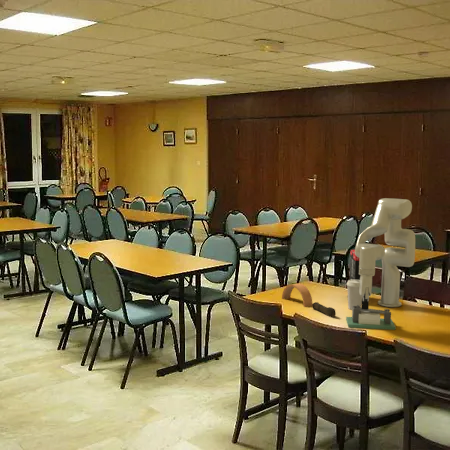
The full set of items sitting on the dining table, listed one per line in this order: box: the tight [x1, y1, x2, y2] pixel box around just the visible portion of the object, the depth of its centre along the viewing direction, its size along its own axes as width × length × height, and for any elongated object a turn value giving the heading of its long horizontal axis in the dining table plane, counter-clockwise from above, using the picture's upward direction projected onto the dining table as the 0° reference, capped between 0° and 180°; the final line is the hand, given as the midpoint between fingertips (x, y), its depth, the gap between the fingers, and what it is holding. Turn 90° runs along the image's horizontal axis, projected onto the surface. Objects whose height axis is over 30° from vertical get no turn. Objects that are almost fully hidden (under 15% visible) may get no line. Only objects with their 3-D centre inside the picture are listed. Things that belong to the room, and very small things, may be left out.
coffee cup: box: [346, 279, 362, 311], centre depth 324 cm, size 10×10×15 cm
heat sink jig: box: [345, 306, 397, 331], centre depth 296 cm, size 13×22×8 cm, turn 83°
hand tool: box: [311, 301, 337, 319], centre depth 315 cm, size 19×4×5 cm, turn 21°
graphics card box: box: [349, 249, 361, 280], centre depth 343 cm, size 17×7×27 cm, turn 179°
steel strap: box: [356, 305, 388, 315], centre depth 295 cm, size 3×16×2 cm, turn 83°
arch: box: [281, 283, 313, 308], centre depth 336 cm, size 6×20×10 cm, turn 32°
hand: (364, 308), depth 295 cm, fingers closed
